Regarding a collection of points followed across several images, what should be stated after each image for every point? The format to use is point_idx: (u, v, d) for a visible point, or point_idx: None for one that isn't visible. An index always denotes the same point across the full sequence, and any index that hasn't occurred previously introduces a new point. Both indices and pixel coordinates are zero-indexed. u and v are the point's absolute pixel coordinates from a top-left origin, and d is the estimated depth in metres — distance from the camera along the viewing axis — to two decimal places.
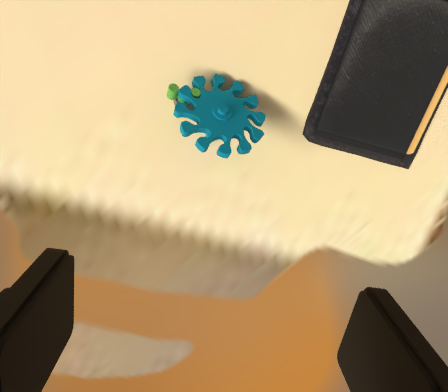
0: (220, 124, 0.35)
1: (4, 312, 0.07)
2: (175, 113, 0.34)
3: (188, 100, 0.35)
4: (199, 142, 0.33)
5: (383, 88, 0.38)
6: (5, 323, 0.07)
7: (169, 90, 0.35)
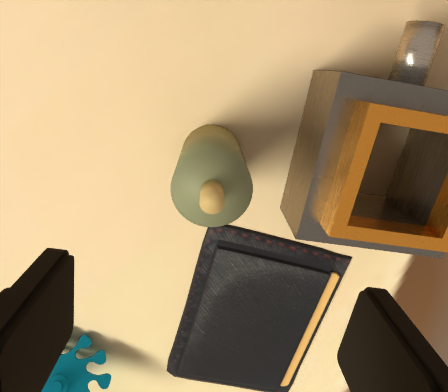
0: None
1: (4, 312, 0.07)
2: None
3: None
4: None
5: (243, 340, 0.35)
6: (5, 324, 0.07)
7: None
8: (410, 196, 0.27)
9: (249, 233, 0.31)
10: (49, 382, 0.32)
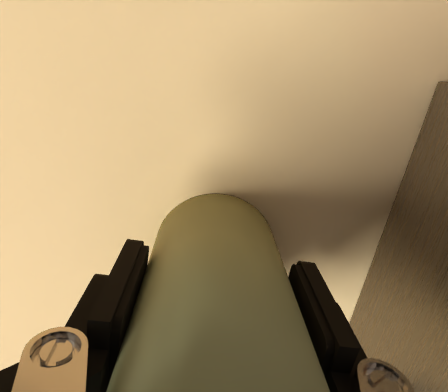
0: None
1: (114, 291, 0.08)
2: None
3: None
4: None
5: None
6: (118, 301, 0.08)
7: None
8: None
9: None
10: None
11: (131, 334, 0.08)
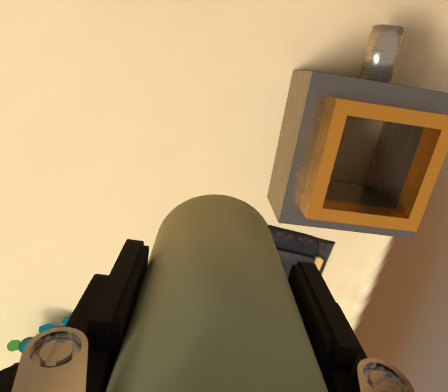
0: None
1: (114, 291, 0.08)
2: None
3: None
4: None
5: None
6: (118, 300, 0.08)
7: None
8: (383, 183, 0.30)
9: None
10: None
11: (130, 335, 0.08)
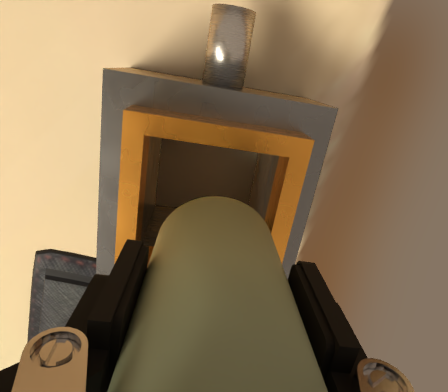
0: None
1: (114, 291, 0.08)
2: None
3: None
4: None
5: None
6: (119, 301, 0.08)
7: None
8: None
9: (85, 260, 0.27)
10: None
11: (130, 338, 0.08)
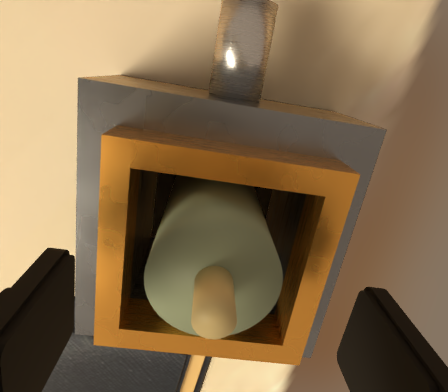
0: None
1: (5, 312, 0.07)
2: None
3: None
4: None
5: None
6: (6, 324, 0.07)
7: None
8: None
9: None
10: None
11: (165, 215, 0.14)
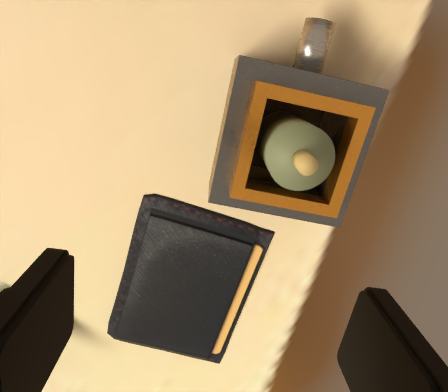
0: None
1: (4, 312, 0.07)
2: None
3: None
4: None
5: (175, 304, 0.38)
6: (5, 324, 0.07)
7: None
8: None
9: (180, 204, 0.35)
10: None
11: (272, 131, 0.26)
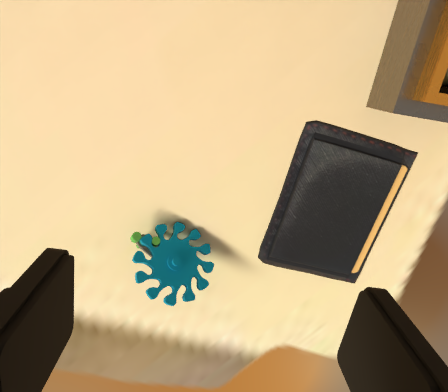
0: (171, 274, 0.40)
1: (4, 312, 0.07)
2: (133, 261, 0.39)
3: (148, 247, 0.40)
4: (149, 293, 0.38)
5: (326, 224, 0.42)
6: (5, 324, 0.07)
7: (132, 238, 0.39)
8: None
9: (338, 128, 0.39)
10: (171, 257, 0.40)
11: None
